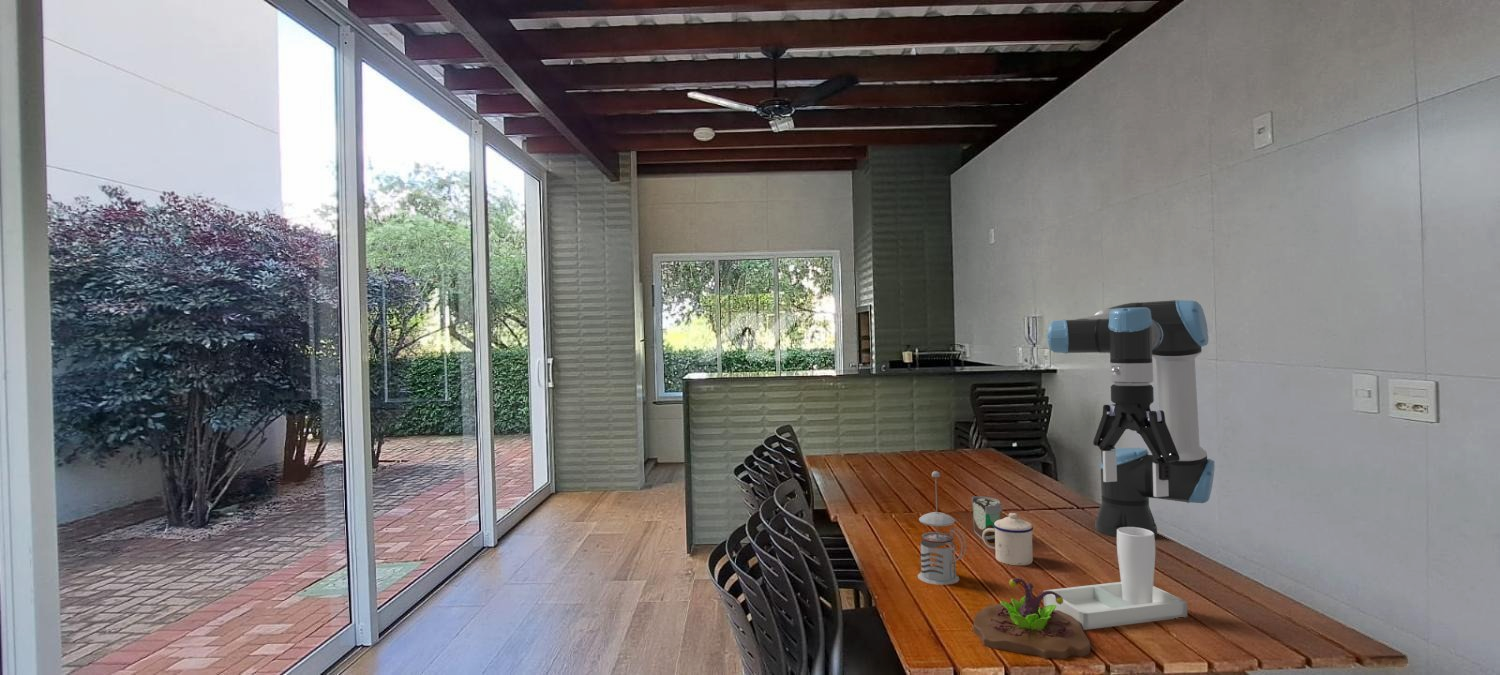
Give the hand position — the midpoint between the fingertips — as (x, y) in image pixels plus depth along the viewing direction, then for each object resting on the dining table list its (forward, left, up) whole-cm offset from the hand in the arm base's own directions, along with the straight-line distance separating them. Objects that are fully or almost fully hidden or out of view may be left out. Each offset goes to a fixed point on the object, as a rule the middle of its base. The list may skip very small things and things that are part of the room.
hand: (1134, 488), depth 135 cm
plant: (+28, +5, -25) cm, 38 cm away
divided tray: (+6, 0, -25) cm, 25 cm away
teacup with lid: (+8, -34, -25) cm, 43 cm away
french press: (+30, -26, -25) cm, 47 cm away
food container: (+2, -52, -25) cm, 58 cm away
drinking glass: (0, 0, -24) cm, 24 cm away
